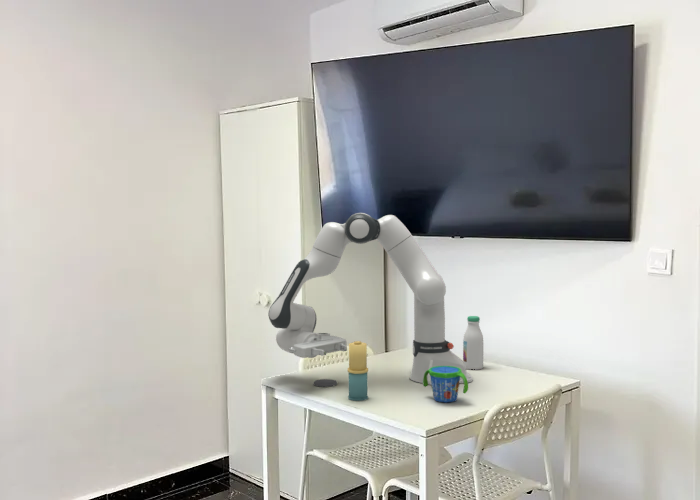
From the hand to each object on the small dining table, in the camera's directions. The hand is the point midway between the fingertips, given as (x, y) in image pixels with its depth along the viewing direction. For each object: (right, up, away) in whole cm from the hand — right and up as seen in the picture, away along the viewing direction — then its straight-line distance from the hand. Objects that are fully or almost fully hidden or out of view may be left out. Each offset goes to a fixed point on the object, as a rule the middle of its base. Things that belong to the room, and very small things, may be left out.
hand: (335, 350), depth 237 cm
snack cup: (+36, -15, -10) cm, 40 cm away
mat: (-4, -13, +11) cm, 17 cm away
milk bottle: (+53, -12, +33) cm, 63 cm away
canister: (+8, -14, -7) cm, 18 cm away
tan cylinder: (+8, -5, -8) cm, 12 cm away
